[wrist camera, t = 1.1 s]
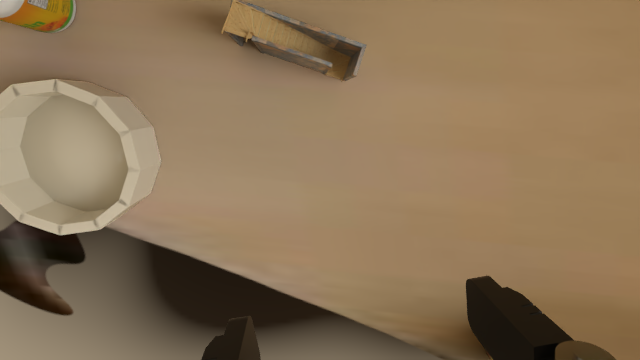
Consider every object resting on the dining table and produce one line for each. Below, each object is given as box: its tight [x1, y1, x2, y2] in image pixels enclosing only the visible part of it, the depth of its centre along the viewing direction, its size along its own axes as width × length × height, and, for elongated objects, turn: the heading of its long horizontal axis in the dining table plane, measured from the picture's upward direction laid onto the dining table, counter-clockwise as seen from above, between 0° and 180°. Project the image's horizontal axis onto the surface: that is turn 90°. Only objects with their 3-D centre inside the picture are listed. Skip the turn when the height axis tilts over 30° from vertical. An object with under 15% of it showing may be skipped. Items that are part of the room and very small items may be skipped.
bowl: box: [0, 79, 161, 235], centre depth 33 cm, size 14×14×5 cm
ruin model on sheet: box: [221, 0, 366, 82], centre depth 31 cm, size 11×3×10 cm, turn 72°
